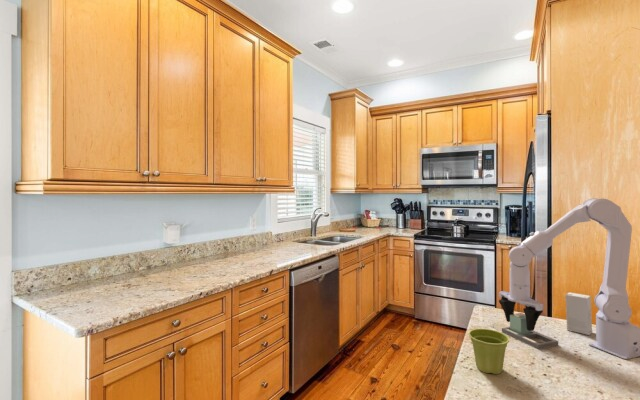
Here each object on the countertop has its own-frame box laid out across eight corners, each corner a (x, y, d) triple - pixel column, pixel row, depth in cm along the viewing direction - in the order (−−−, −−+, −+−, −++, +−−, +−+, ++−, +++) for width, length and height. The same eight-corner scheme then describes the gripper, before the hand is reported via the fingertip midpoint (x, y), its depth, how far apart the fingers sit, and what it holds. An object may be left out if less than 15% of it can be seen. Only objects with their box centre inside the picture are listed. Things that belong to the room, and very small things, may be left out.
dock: (558, 345, 98) (558, 340, 98) (538, 349, 95) (538, 344, 95) (520, 328, 110) (520, 324, 110) (501, 331, 108) (501, 327, 108)
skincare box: (592, 332, 106) (592, 295, 106) (589, 336, 103) (588, 298, 103) (569, 326, 111) (569, 291, 111) (565, 330, 108) (565, 294, 108)
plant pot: (494, 382, 79) (493, 346, 79) (461, 365, 87) (461, 332, 87) (517, 372, 83) (517, 338, 83) (484, 356, 91) (483, 326, 91)
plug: (530, 336, 104) (530, 315, 104) (520, 337, 103) (520, 317, 103) (519, 331, 108) (519, 311, 108) (510, 332, 107) (509, 312, 107)
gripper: (491, 279, 111) (492, 319, 111) (530, 291, 97) (530, 336, 98) (508, 277, 113) (508, 316, 113) (548, 289, 99) (548, 333, 100)
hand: (519, 325), depth 106 cm, fingers open, 7 cm apart
